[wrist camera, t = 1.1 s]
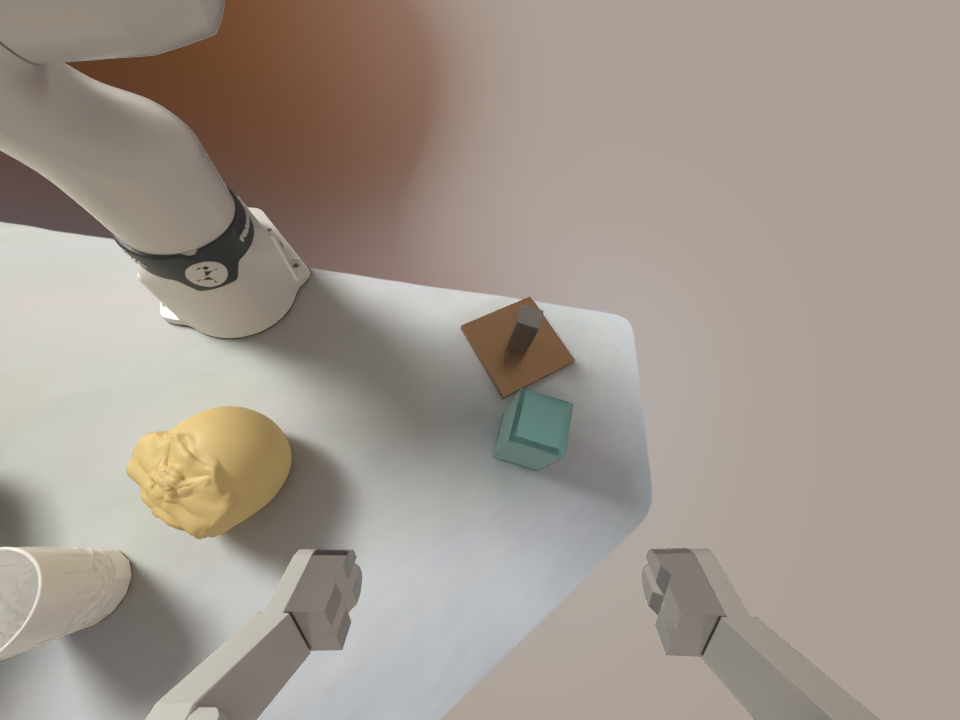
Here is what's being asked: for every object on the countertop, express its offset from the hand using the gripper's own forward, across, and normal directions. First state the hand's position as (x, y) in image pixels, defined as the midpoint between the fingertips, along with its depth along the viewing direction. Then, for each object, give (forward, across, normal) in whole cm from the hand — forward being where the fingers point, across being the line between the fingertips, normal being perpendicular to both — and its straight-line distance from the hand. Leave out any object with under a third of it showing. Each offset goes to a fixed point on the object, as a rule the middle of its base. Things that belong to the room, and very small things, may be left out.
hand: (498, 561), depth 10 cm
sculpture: (+23, +29, +19) cm, 42 cm away
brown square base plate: (+41, -3, +13) cm, 43 cm away
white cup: (+13, +40, +24) cm, 48 cm away
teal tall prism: (+30, -2, +21) cm, 37 cm away
